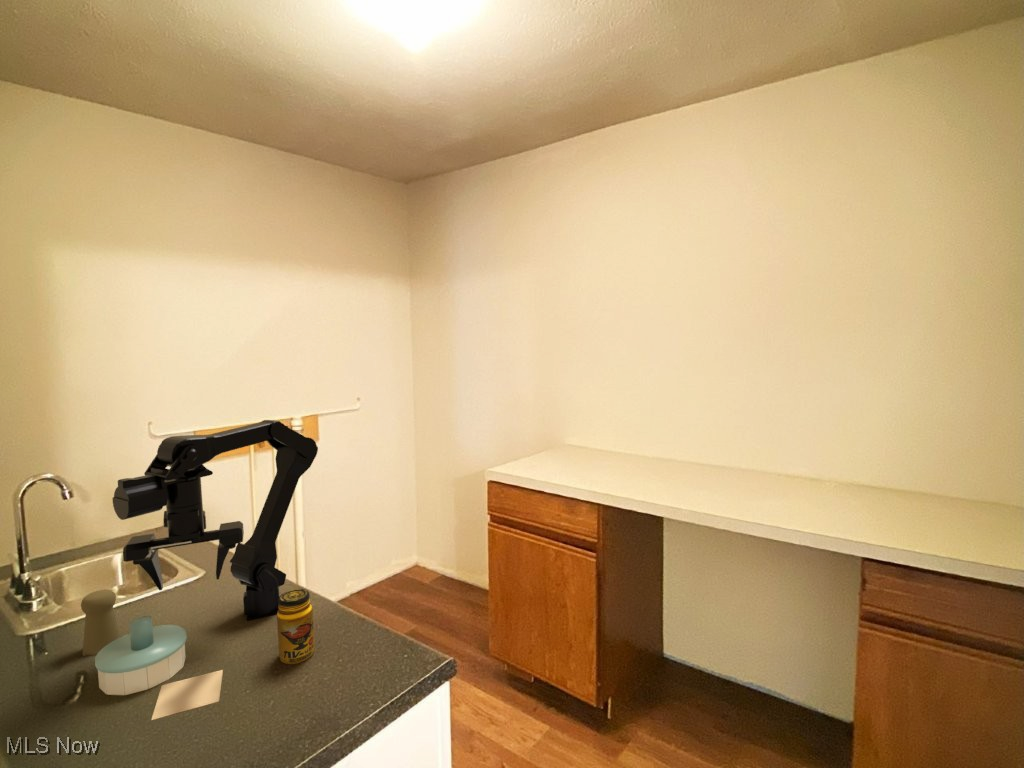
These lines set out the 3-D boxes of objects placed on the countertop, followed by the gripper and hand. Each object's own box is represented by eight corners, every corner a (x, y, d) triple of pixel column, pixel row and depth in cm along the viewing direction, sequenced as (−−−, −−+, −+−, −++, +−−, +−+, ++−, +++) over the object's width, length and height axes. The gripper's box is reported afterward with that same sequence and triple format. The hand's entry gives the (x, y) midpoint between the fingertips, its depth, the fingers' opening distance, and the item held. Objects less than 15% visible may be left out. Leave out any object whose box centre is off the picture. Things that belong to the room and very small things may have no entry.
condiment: (299, 672, 90) (295, 606, 89) (260, 663, 92) (256, 599, 92) (326, 648, 97) (323, 587, 96) (289, 641, 99) (286, 581, 98)
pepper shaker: (100, 659, 95) (95, 601, 94) (73, 655, 96) (68, 599, 95) (130, 640, 101) (125, 586, 100) (105, 637, 102) (100, 584, 101)
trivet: (223, 672, 90) (223, 669, 90) (219, 704, 82) (218, 701, 82) (162, 688, 86) (161, 685, 86) (151, 723, 78) (151, 720, 78)
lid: (191, 622, 98) (189, 595, 98) (181, 659, 87) (178, 629, 86) (107, 640, 93) (104, 612, 92) (84, 682, 81) (81, 650, 81)
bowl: (188, 646, 98) (187, 624, 98) (179, 683, 87) (177, 658, 87) (111, 664, 93) (109, 641, 93) (91, 706, 82) (89, 679, 82)
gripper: (242, 486, 107) (246, 558, 108) (133, 499, 99) (139, 577, 100) (240, 500, 97) (244, 579, 98) (119, 516, 89) (125, 602, 90)
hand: (190, 583), depth 97 cm, fingers open, 9 cm apart
